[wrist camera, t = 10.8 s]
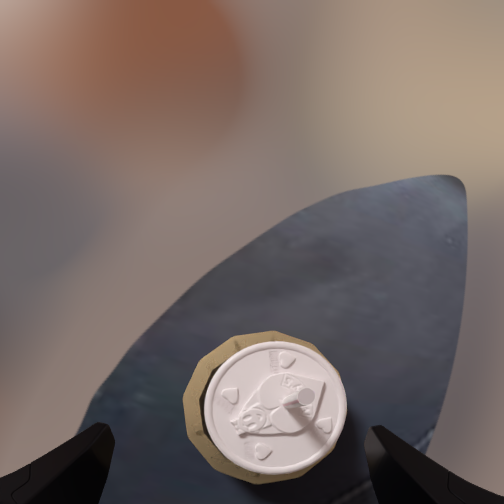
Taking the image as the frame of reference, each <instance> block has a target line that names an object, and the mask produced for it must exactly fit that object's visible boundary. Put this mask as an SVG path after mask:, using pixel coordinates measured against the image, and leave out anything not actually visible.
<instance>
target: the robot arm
mask: <svg viewBox="0 0 504 504" xmlns="http://www.w3.org/2000/svg"><path fill="white" fill-rule="evenodd" d="M114 446H115V439H114V436H113V434H112V432H111V429H110V427H109V425H108V424H105V423H101V422H97V423H95V424H94V425H92V426H90V427H89V428H87V429H86V430H84V431H83V432H81V433H79V434H78V435H76V436H75V437H73V438H71V439H70V440H68V441H67V442H65V443H63V444H62V445H60V446H58V447H57V448H55V449H53V450H52V451H50V452H48V453H47V454H45V455H43V456H42V457H40V458H38V459H36V460H35V461H33V462H31V464H28V465H26V466H24V467H22V468H20V469H18V470H17V471H15V472H13V473H10V474H8V475H6V476H3V477H1V478H0V504H98V503H99V500H100V497H101V494H102V492H103V489H104V486H105V483H106V480H107V477H108V473H109V468H110V464H111V459H112V455H113V450H114ZM364 448H365V453H366V457H367V462H368V467H369V472H370V477H371V481H372V484H373V488H374V490H375V493H376V496H377V499H378V502H379V504H504V496H500V495H497V494H495V493H492V492H490V491H488V490H485V489H483V488H481V487H478V486H476V485H474V484H472V483H470V482H468V481H466V480H464V479H462V478H461V477H459V476H457V475H455V474H454V473H452V472H451V471H448V470H447V469H446V468H444V467H443V466H441V465H439V464H438V463H436V462H435V461H433V460H432V459H430V458H428V457H427V456H426V455H424V454H423V453H421V452H420V451H418V450H417V449H415V448H414V447H412V446H411V445H409V444H408V443H406V442H405V441H403V440H402V439H401V438H399V437H398V436H396V435H395V434H393V433H392V432H391V431H389V430H388V429H386V428H385V427H384V426H382V425H377V426H372V427H370V428H369V430H368V433H367V436H366V439H365V442H364Z"/></svg>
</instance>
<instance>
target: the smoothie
mask: <svg viewBox="0 0 504 504" xmlns="http://www.w3.org/2000/svg"><path fill="white" fill-rule="evenodd" d="M346 411H347V403H346V395H345V391H344V387H343V384H342V382H341V380H340V378H339V376H338V374H337V373H336V371H335V370H334V368H333V367H332V366H331V365H330V364H329V363H328V362H327V361H326V360H325V359H324V358H323V357H322V356H321V355H319V354H318V353H316V352H315V351H313V350H311V349H309V348H307V347H304V346H302V345H299V344H295V343H290V342H283V341H271V342H263V343H259V344H255V345H252V346H249V347H247V348H244V349H242V350H241V351H239V352H237V353H236V354H234V355H233V356H231V357H230V358H229V359H228V360H226V361H225V362H224V363H223V364H222V365H221V367H220V368H219V369H218V370H217V372H216V373H215V375H214V376H213V378H212V380H211V382H210V384H209V386H208V389H207V393H206V397H205V404H204V415H205V421H206V426H207V429H208V432H209V434H210V436H211V438H212V440H213V442H214V443H215V445H216V446H217V448H218V449H219V450H220V451H221V452H222V453H223V454H224V455H225V456H226V457H227V458H228V459H229V460H231V461H232V462H234V463H235V464H237V465H238V466H240V467H242V468H245V469H247V470H250V471H253V472H256V473H261V474H270V475H278V474H287V473H292V472H295V471H299V470H301V469H304V468H306V467H308V466H310V465H312V464H314V463H315V462H317V461H318V460H319V459H321V458H322V457H323V456H324V455H325V454H326V453H327V452H328V451H329V450H330V449H331V448H332V447H333V445H334V444H335V443H336V441H337V439H338V438H339V436H340V434H341V431H342V429H343V426H344V423H345V418H346Z"/></svg>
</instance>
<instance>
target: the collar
mask: <svg viewBox="0 0 504 504" xmlns="http://www.w3.org/2000/svg"><path fill="white" fill-rule="evenodd" d="M271 341H283V342H290V343H295V344H299V345H302V346H304V347H307V348H309V349H311V350H313V351H315V352H316V353H318V354H319V355H321V356H322V357H323V358H324V359H325V360H326V361H327V362H328V363H329V364H330V365H331V363H330V362H329V361H328V360H327V359H326V358H325V357H324V356H323V355H322V354H321V353H320V351H319V350H318V349H317V348H316V347H315V346H314V345H312V343H309V342H306V341H303V340H300V339H297V338H294V337H291V336H288V335H285V334H282V333H279V332H277V331H268V332H261V333H254V334H247V335H239V336H234V338H233V337H231V338H230V339H229V340H227V341H226V342H225V343H223V344H222V345H220V346H219V347H218V348H216V349H215V350H213V351H212V352H211V353H209V354H208V355H206V356H205V357H203V358H202V359H201V361H199V363H198V365H197V367H196V369H195V371H194V373H193V376H192V378H191V380H190V382H189V384H188V386H187V389H186V391H185V393H184V395H183V396H184V397H183V403H184V412H185V420H186V428H187V435H188V436H190V437H188V438H189V439H190V440H191V442H192V443H193V444H194V445H195V447H196V448H197V449H198V450H199V452H200V453H201V454H202V455H203V456H204V458H205V459H206V460H207V461H208V462H209V464H210V465H211V466H212V467H213V468H214V469H215V468H216V469H215V470H217V471H220V472H222V473H225V474H227V475H230V476H233V477H236V478H238V479H241V480H244V481H247V482H250V483H253V484H256V482H257V484H263V483H270V482H276V481H282V480H288V479H293V478H298V477H299V475H300V476H302V475H303V474H305V473H306V472H307V471H309V470H310V469H311V468H312V467H314V466H315V465H316V464H317V463H319V462H320V461H321V460H322V459H323V458H325V457H326V456H327V455H328V454H329V453H330V452H332V451H333V450H332V449H334V447H335V445H336V443H335V444H334V445H333V447H332V448H331V449H330V450H329V451H328V452H327V453H326V454H325V455H324V456H323V457H322V458H321V459H319V460H318V461H317V462H315V463H314V464H312V465H310V466H308V467H306V468H304V469H301V470H299V471H295V472H292V473H287V474H278V475H270V474H261V473H256V472H253V471H250V470H247V469H245V468H242V467H240V466H238V465H237V464H235V463H234V462H232V461H231V460H229V459H228V458H227V457H226V456H225V455H224V454H223V453H222V452H221V451H220V450H219V449H218V448H217V446H216V445H215V443H214V442H213V440H212V438H211V436H210V434H209V432H208V429H207V426H206V421H205V415H204V404H205V397H206V393H207V389H208V386H209V384H210V382H211V380H212V378H213V376H214V375H215V373H216V372H217V370H218V369H219V368H220V367H221V365H222V364H223V363H224V362H225V361H226V360H228V359H229V358H230V357H231V356H233V355H234V354H236V353H237V352H239V351H241V350H242V349H244V348H247V347H249V346H252V345H255V344H259V343H263V342H271ZM331 366H332V365H331ZM332 367H333V366H332ZM333 368H334V367H333ZM334 370H335V371H336V373H337V374H338V373H339V372H338V371H337V370H336V369H335V368H334ZM338 376H339V378H340V374H338ZM340 380H341V378H340ZM346 414H347V412H346ZM336 442H337V441H336Z"/></svg>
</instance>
